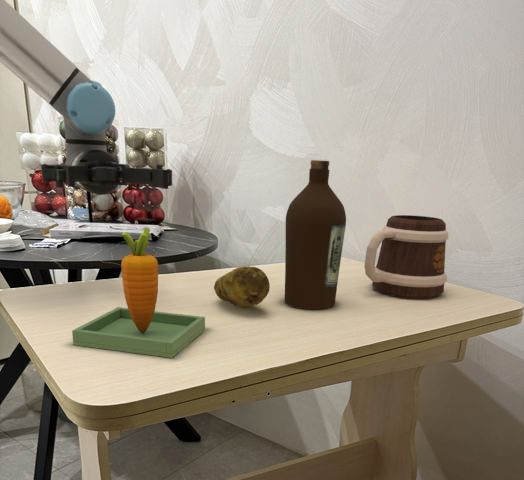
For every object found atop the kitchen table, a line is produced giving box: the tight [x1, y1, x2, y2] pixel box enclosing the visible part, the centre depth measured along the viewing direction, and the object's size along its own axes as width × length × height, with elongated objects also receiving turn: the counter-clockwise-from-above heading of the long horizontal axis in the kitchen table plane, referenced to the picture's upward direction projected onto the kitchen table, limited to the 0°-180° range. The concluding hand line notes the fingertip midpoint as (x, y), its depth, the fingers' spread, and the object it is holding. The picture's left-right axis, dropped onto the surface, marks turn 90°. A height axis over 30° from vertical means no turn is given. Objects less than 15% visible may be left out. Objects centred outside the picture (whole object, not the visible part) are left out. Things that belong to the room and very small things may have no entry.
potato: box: [213, 265, 271, 308], centre depth 90 cm, size 8×13×8 cm, turn 14°
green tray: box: [71, 306, 206, 359], centre depth 75 cm, size 15×13×2 cm
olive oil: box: [284, 159, 347, 311], centre depth 92 cm, size 11×11×25 cm
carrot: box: [120, 226, 159, 333], centre depth 73 cm, size 5×5×15 cm
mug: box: [364, 214, 449, 300], centre depth 105 cm, size 20×15×15 cm
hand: (120, 178), depth 76 cm, fingers open, 13 cm apart
